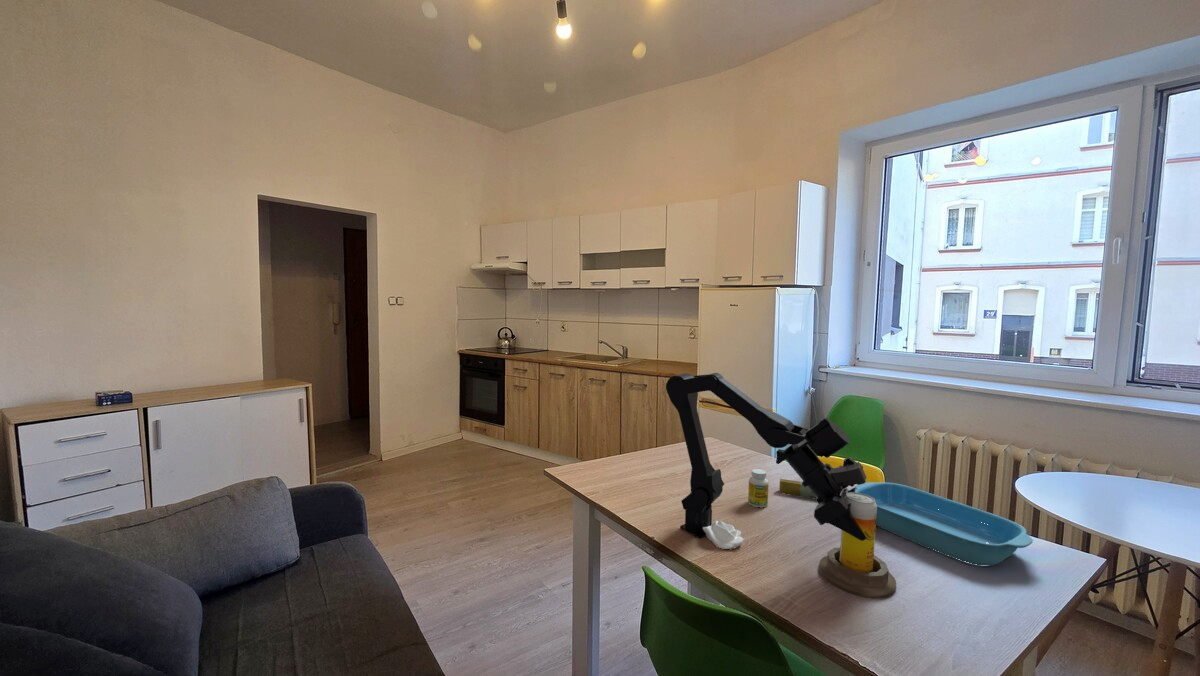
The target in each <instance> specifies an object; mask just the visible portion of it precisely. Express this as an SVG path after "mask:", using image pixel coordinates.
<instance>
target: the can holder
mask: <svg viewBox="0 0 1200 676" xmlns="http://www.w3.org/2000/svg"><path fill="white" fill-rule="evenodd" d="M839 558H840V546H839V547H833V548H831V549H830V550H828V551H827V555H825V556H823V557H822V558H821V559H820V560H819V563H818V564H819V565H818V570H819V573H820V575H821V576H822V578H824V580H826V581H827V582H828V583H829V584H831V585H833V586H835V587H836V588H838V589H839V590H842V591H844V592H846V593H848V594H852V595H855V596H859V597H862V598H863V597H864V598H869V599H870V598H871V599H884V598H889V597H891V596H893V595H894V594H895V593H896V590H897V580H896V579H895V577H894V576H893V574H892V573H891V572H890V571H889V568H888V565H887V563H886V561H883V560H882V559H881V558H880V557H878V556H877V555H876V554H874V557H873V569H872V570H871V571H869V573H866V572H861V571H856V570H852V569H850V568H848V567H846V566H843V565H842V563H841V562H840V560H839Z"/></svg>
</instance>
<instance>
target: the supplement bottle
mask: <svg viewBox="0 0 1200 676" xmlns="http://www.w3.org/2000/svg"><path fill="white" fill-rule="evenodd" d="M750 476H751V477H749V479H748V494H747V502H748V504H749V505H750V506H751V505H752V506H751V507H753V508H754V507H755V508H758V507H760V509H762V508H763V507H764V508H766V507H767V506H768V505H769V488H770V487H769V486H770V485H769V482H770V481H769V480H768V478H767V471H766V470H764V469H759V468H753V469H752V470H751V475H750Z"/></svg>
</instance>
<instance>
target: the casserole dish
mask: <svg viewBox="0 0 1200 676" xmlns="http://www.w3.org/2000/svg"><path fill="white" fill-rule="evenodd" d="M854 486H855V487H854V488H856V490H855V492H856V493H862V494H866V495H869V496H871V497H873V498H874V499H875V502H876V505H877V515H876V527H878V528H881V529H884V530H886V531H888V532H890V533H892V534H895V535H897V536H899V537H902V538H904V539H906V540H909V541H911V542H915V543H916V544H919V545H921V546H923V547H925V546H926V548H927V547H929V548H928V549H930V548H931V549H930V550H932V549H934V550H933V551H935V550H936V551H935V552H937V551H939V552H938V553H940V552H941V553H940V554H942V553H943V554H942V555H945V554H946V555H945V556H947V555H949V556H951V557H950V558H952V557H954V558H953V559H955V558H957V559H960V560H962V561H961V562H963V561H966V562H969V563H972V564H977V565H991V566H995V565H998V564H1000V563H1001V562H1003V561H1005V560H1006V559H1008V558H1009V557H1010V556H1012V555H1013V554H1014V553H1015V552H1016V551H1017V550H1018V549H1023V548H1026V547H1028V546H1030V545H1031V544H1032V543H1033V538H1032V537H1031V536H1030V535H1029V534H1028V532H1027V529H1026V527H1024V526H1023V525H1021V524H1019V523H1017V522H1015V521H1013V520H1010V519H1008V518H1005V517H1003V516H1000V515H996V514H994V513H991V512H989V511H985V510H982V509H979V508H976V507H973V506H970V505H967V504H964V503H960V502H958V501H955V500H951V499H949V498H946V497H943V496H940V495H937V494H934V493H930V492H928V491H924V490H922V489H919V488H915V487H912V486H908V485H905V484H901V483H895V482H885V481H883V482H865V483H864V484H861V485H857V484H855V485H854ZM938 509H939V510H938ZM981 522H982V523H981ZM984 523H985V524H984ZM987 524H988V525H987ZM986 542H988V543H989V544H986ZM949 556H948V557H949ZM957 559H956V560H957ZM960 560H959V561H960ZM969 563H968V564H969ZM972 564H971V565H972Z"/></svg>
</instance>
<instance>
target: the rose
mask: <svg viewBox="0 0 1200 676" xmlns="http://www.w3.org/2000/svg"><path fill="white" fill-rule="evenodd" d="M702 529H703V530H704V532H705V533H706V535H705V537H707V538H708V540H709V541H710V542H711V541H712V542H713V543H714V544H715V545H716V546H715V545H714V544H713V543H712V542H711V543H712V544H713V545H714V546H715V547H717V546H718V547H719V548H718V547H717V548H718V549H720V548H722V549H721V550H723V549H730V550H732V549H731V548H734V547H737V548H739V547H738V546H740V545H742V544H743V542H744V538H743V537H742V536H741V534H742V531H740V530H738V529H735V527H734V525H732V524H728V523H726V522H723V520H715V522H714V523H713V524H711V526H708V527H703V528H702ZM734 549H735V548H734Z"/></svg>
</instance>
